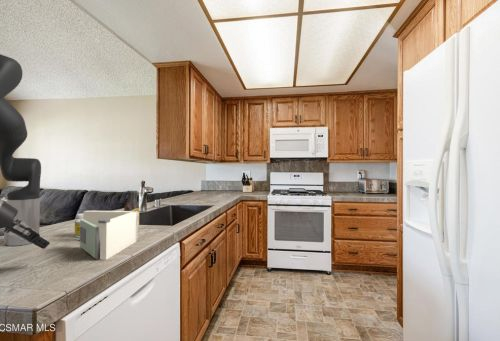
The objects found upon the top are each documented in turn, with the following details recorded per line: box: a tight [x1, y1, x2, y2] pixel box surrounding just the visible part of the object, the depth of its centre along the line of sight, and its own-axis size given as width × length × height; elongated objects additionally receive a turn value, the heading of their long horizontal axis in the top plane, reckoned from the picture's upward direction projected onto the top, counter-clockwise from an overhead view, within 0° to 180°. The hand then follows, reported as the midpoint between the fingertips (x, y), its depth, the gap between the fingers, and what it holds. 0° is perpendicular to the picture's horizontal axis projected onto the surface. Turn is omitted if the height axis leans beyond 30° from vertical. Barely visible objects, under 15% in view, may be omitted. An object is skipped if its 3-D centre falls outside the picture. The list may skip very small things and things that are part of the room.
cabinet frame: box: [83, 210, 139, 261], centre depth 86 cm, size 22×22×13 cm
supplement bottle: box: [74, 213, 83, 239], centre depth 102 cm, size 5×5×10 cm
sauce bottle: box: [123, 189, 140, 232], centre depth 104 cm, size 6×6×20 cm
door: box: [79, 219, 100, 259], centre depth 81 cm, size 18×1×10 cm, turn 49°
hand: (46, 245), depth 70 cm, fingers closed
